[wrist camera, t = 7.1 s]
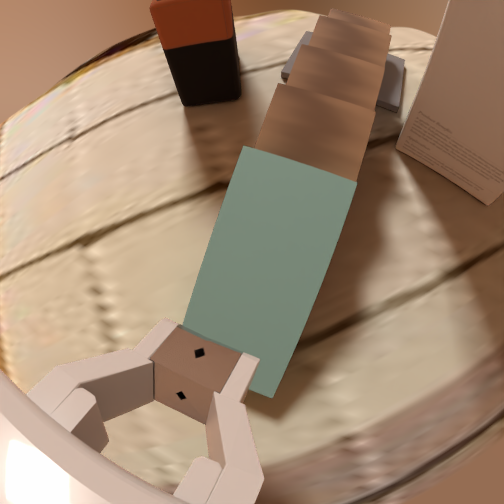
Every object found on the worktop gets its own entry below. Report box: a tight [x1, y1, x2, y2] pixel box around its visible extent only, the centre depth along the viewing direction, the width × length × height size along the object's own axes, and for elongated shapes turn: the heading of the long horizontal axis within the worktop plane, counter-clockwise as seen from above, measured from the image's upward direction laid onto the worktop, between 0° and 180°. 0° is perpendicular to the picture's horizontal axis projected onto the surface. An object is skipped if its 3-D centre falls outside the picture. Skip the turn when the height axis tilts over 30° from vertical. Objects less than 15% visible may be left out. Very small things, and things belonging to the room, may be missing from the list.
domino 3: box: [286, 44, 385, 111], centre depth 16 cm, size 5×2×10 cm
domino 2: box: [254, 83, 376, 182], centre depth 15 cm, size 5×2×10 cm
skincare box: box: [395, 0, 504, 206], centre depth 11 cm, size 8×7×16 cm
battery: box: [150, 0, 241, 106], centre depth 17 cm, size 4×7×10 cm, turn 4°
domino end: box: [183, 145, 357, 398], centre depth 14 cm, size 5×2×10 cm
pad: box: [281, 31, 405, 113], centre depth 21 cm, size 9×7×1 cm
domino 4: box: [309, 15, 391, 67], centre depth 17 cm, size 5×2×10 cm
